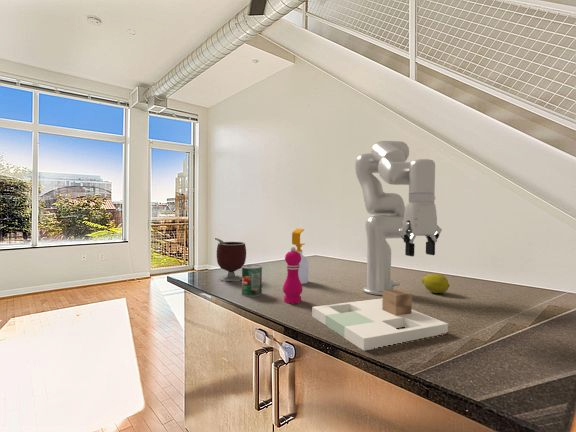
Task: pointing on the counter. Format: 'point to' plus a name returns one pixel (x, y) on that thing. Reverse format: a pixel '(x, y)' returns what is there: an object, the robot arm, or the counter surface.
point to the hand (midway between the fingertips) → (420, 254)
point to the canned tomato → (251, 280)
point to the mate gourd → (231, 258)
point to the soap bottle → (304, 261)
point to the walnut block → (397, 302)
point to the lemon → (436, 283)
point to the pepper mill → (292, 278)
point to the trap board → (376, 323)
